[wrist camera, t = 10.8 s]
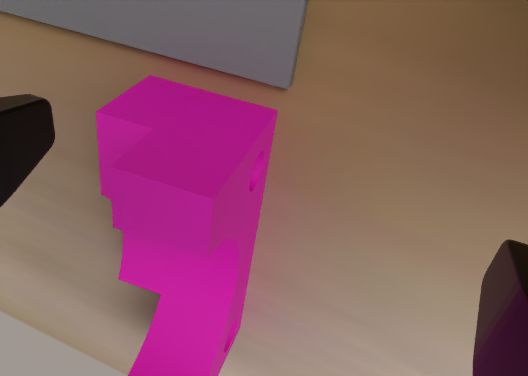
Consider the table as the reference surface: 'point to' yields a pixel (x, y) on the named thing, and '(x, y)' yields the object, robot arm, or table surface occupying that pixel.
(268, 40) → the frame
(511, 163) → the table surface
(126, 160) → the toy block
